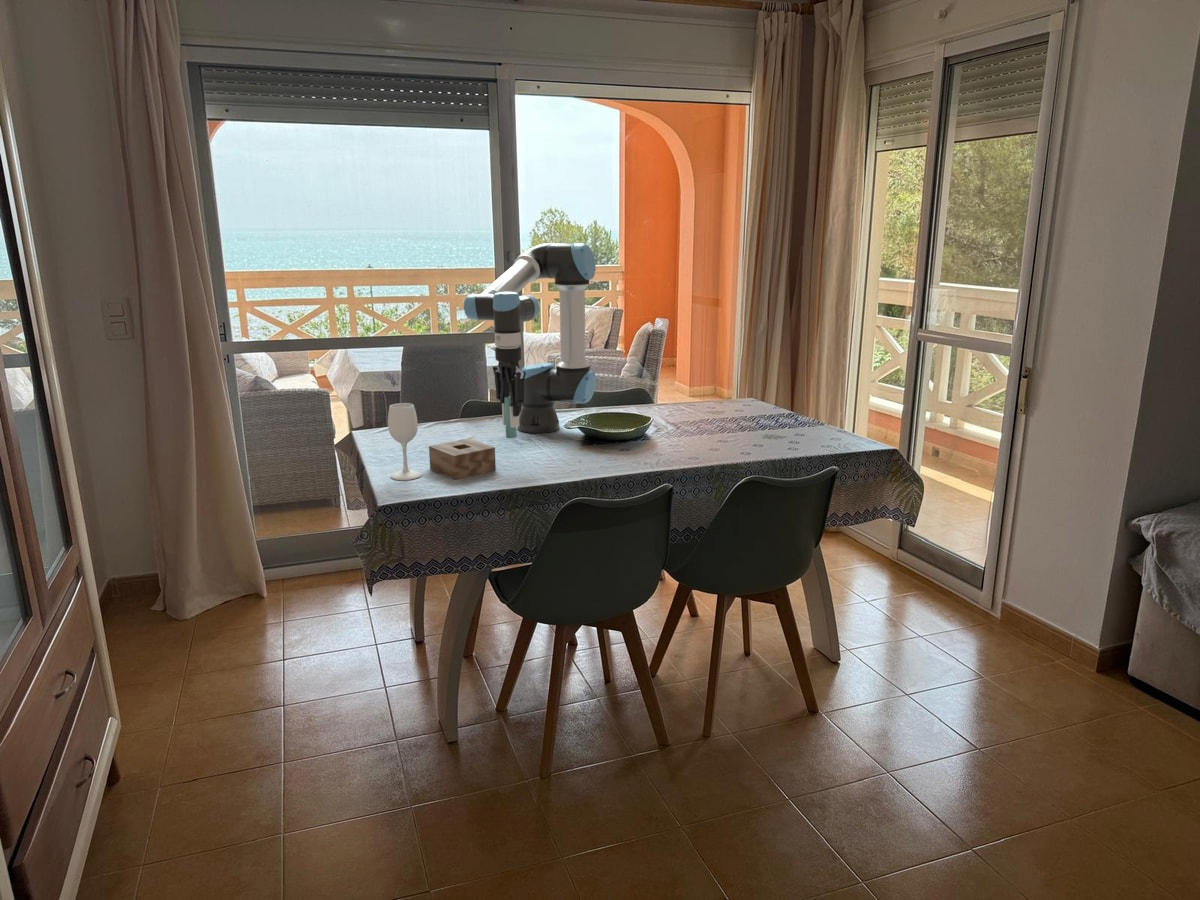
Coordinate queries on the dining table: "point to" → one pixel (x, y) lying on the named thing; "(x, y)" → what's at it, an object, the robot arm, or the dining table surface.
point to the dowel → (510, 431)
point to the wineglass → (403, 434)
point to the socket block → (462, 458)
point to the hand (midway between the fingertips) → (511, 425)
